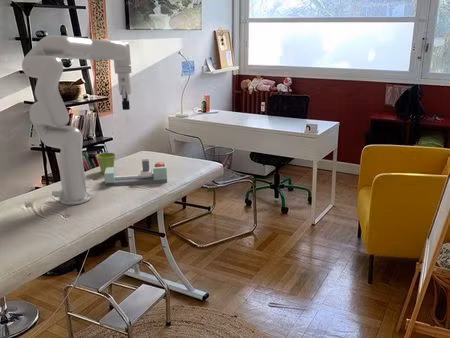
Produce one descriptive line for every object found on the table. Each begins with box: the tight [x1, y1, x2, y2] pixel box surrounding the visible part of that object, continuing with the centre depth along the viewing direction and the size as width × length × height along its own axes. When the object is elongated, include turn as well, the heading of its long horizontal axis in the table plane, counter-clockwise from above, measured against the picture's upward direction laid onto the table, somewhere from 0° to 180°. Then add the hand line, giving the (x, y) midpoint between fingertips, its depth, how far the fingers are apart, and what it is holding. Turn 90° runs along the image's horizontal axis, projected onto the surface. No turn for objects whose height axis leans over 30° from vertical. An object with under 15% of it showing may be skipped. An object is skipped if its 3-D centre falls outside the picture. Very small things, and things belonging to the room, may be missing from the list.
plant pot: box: [95, 152, 117, 174], centre depth 222 cm, size 9×9×9 cm
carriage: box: [140, 158, 153, 177], centre depth 208 cm, size 5×6×7 cm
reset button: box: [155, 161, 164, 167], centre depth 209 cm, size 4×4×3 cm
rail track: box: [103, 161, 168, 187], centre depth 209 cm, size 28×9×7 cm, turn 99°
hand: (126, 109), depth 209 cm, fingers closed
